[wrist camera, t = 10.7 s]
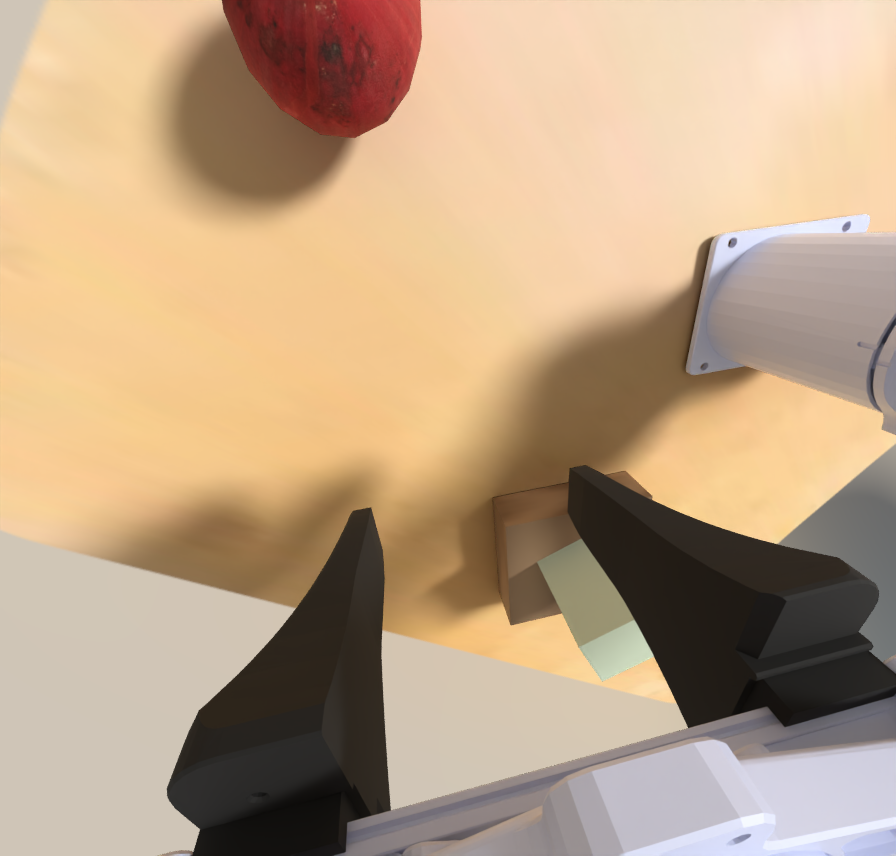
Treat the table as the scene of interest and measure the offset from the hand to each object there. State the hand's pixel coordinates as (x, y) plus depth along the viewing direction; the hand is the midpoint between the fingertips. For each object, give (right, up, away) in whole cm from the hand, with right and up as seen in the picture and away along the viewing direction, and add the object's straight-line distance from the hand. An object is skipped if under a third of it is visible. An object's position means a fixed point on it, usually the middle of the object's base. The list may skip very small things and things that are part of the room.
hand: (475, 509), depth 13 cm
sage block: (+8, -7, +13) cm, 17 cm away
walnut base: (+8, -6, +16) cm, 18 cm away
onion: (-5, +17, +2) cm, 18 cm away
